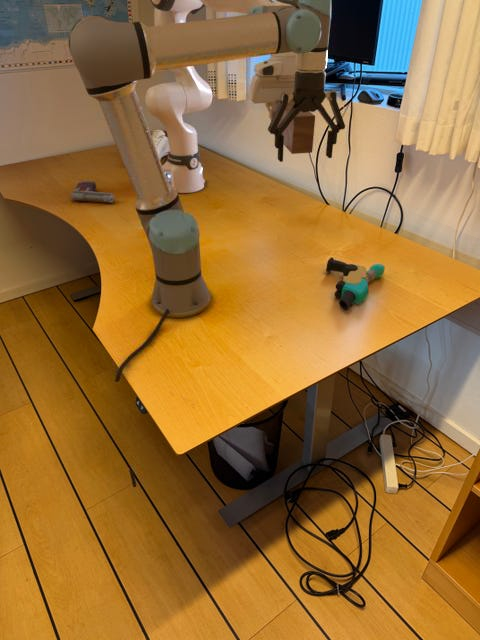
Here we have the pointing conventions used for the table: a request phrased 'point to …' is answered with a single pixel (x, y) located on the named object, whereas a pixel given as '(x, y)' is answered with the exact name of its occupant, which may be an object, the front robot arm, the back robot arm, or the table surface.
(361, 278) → the toy gun
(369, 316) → the table surface
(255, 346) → the table surface
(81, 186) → the toy gun
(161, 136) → the sneaker
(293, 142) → the bar
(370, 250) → the table surface
